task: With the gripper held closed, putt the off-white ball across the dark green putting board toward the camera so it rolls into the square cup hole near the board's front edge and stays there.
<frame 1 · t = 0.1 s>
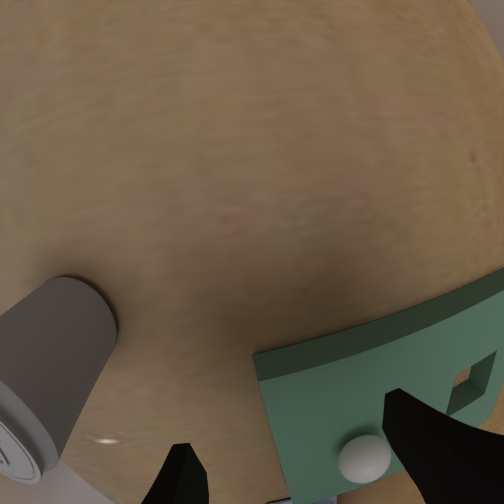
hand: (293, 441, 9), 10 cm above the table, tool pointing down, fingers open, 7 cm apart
ball: (364, 459, 17), point 5 cm above the table, touching putting board
putting board: (404, 394, 22), on the table
beverage can: (78, 317, 18), on the table
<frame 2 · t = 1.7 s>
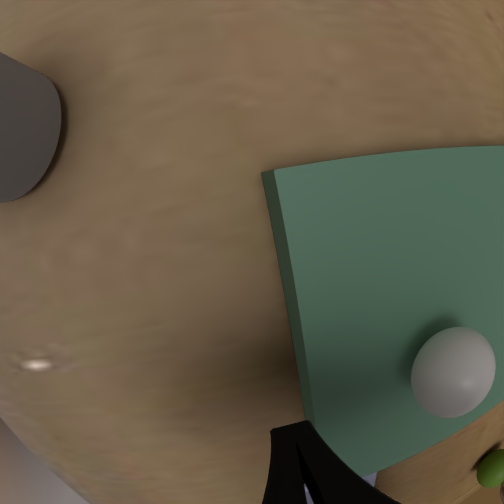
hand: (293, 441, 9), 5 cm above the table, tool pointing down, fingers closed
snail figurine: (483, 458, 23), on the table
ball: (453, 372, 10), point 5 cm above the table, touching putting board
putting board: (473, 294, 15), on the table
beverage can: (20, 136, 11), on the table
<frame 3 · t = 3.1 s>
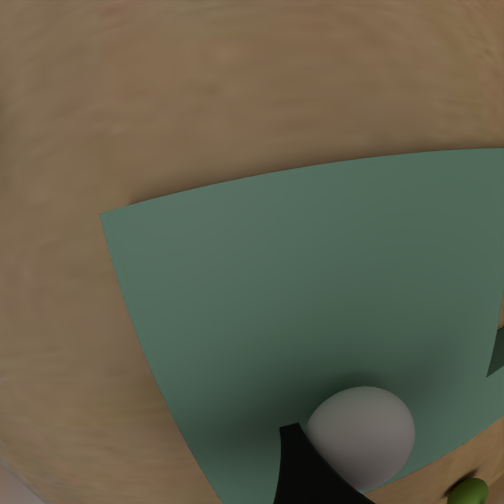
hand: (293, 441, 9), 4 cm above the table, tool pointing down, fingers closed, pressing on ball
snail figurine: (456, 485, 21), on the table
ball: (359, 439, 9), point 5 cm above the table, tilted 9°, touching gripper, putting board
putting board: (420, 333, 14), on the table
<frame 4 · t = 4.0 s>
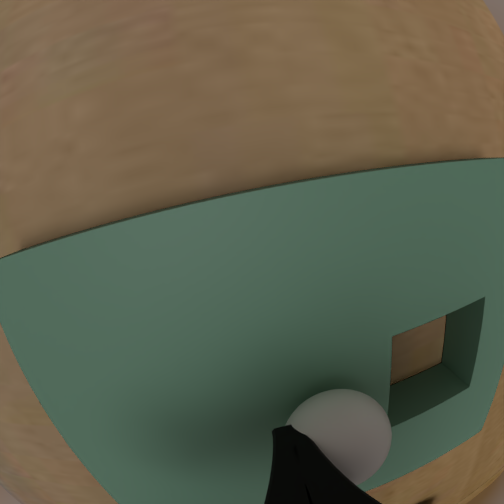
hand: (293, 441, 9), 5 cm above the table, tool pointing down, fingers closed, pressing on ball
ball: (337, 440, 9), point 5 cm above the table, tilted 172°, touching gripper, putting board
putting board: (303, 375, 14), on the table
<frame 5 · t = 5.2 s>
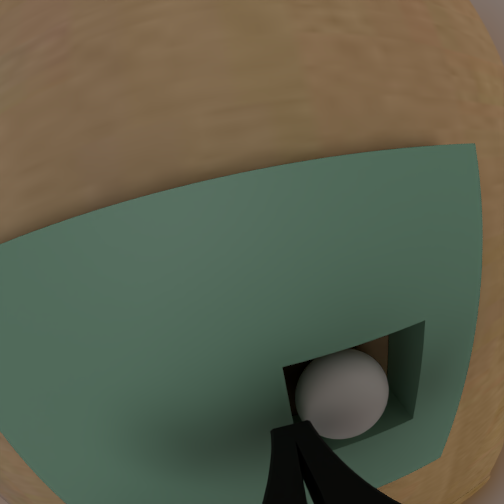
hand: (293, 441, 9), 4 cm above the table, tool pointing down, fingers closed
ball: (342, 394, 11), point 2 cm above the table, tilted 46°
putting board: (211, 392, 13), on the table
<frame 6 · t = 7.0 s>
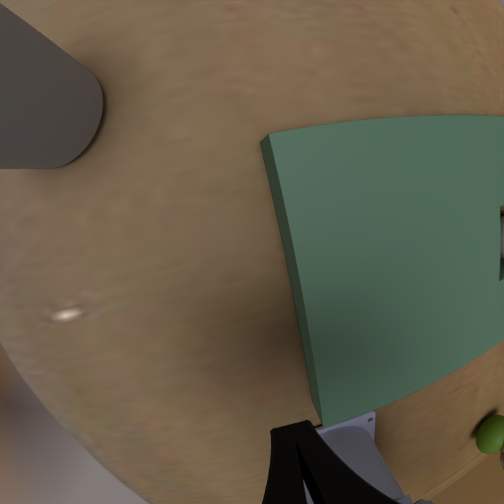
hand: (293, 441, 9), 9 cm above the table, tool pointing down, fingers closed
snail figurine: (481, 425, 26), on the table
putting board: (447, 246, 19), on the table
beverage can: (63, 118, 14), on the table
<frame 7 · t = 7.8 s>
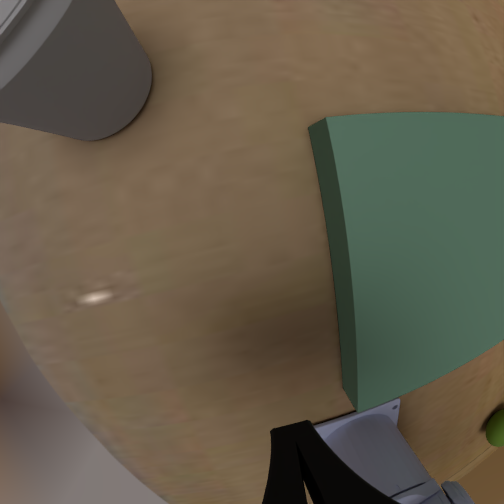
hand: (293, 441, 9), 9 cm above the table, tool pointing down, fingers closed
snail figurine: (490, 418, 26), on the table
putting board: (469, 237, 19), on the table
beverage can: (104, 91, 14), on the table
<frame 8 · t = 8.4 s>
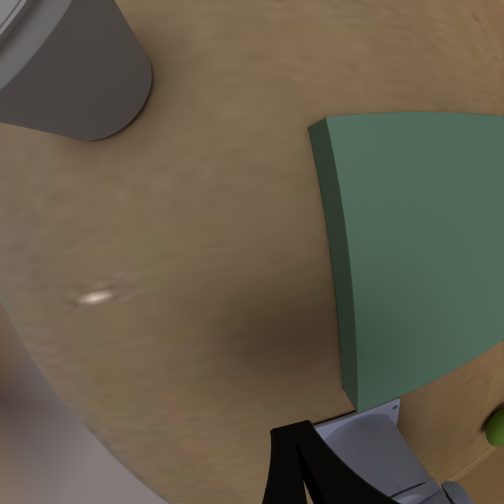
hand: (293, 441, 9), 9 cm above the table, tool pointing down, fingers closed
snail figurine: (490, 418, 26), on the table
putting board: (469, 237, 19), on the table
beverage can: (104, 91, 14), on the table
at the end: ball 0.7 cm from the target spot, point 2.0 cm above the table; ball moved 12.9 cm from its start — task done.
